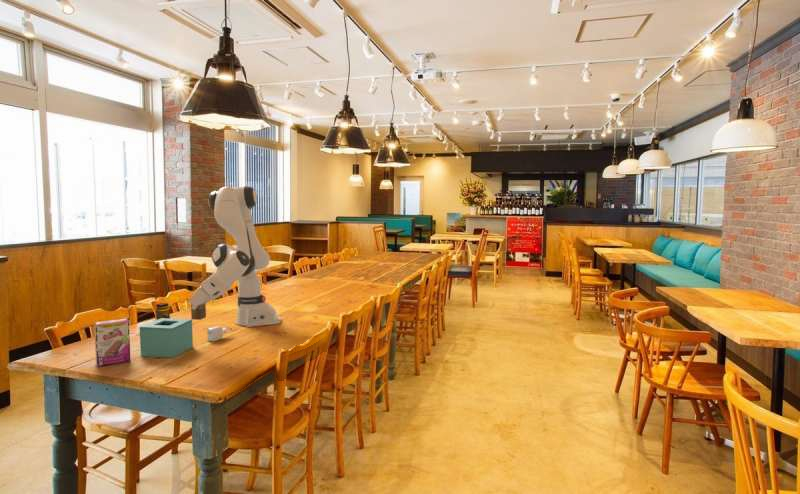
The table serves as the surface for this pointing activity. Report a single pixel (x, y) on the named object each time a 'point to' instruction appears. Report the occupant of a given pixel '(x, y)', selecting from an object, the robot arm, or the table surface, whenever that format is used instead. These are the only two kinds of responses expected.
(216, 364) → the table surface
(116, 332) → the candy bar box
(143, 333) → the teal coin box
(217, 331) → the power adapter
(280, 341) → the table surface
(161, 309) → the condiment
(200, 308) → the walnut block
